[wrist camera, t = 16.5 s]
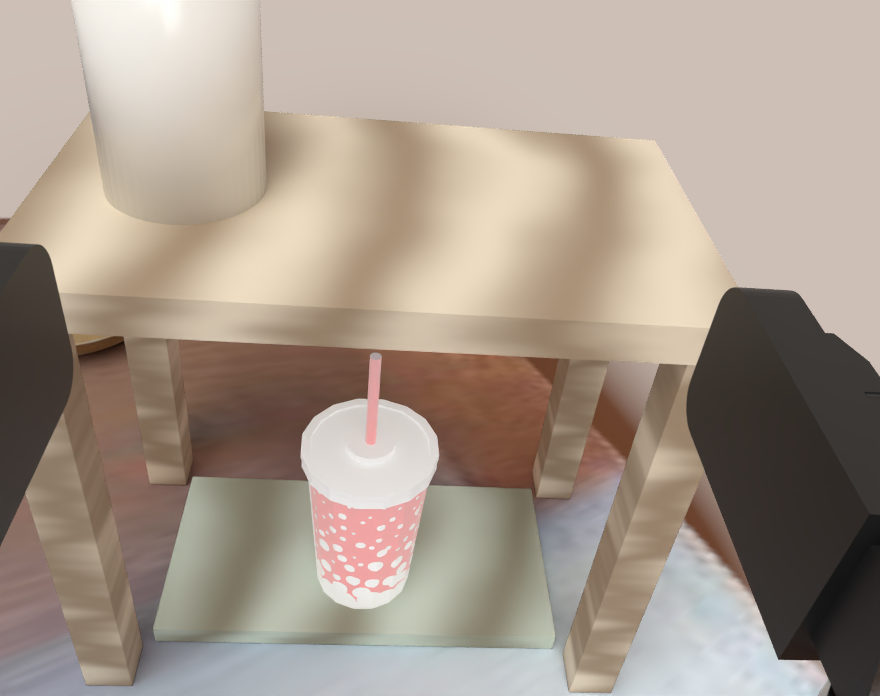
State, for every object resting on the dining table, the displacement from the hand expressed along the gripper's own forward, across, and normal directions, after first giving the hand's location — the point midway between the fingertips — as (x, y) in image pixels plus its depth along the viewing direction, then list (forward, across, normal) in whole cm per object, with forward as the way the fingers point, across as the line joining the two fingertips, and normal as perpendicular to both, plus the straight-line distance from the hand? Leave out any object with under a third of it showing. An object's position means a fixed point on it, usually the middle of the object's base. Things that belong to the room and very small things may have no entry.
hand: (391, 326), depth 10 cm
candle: (+19, +7, +8) cm, 22 cm away
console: (+19, 0, +30) cm, 36 cm away
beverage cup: (+18, 0, +29) cm, 34 cm away
